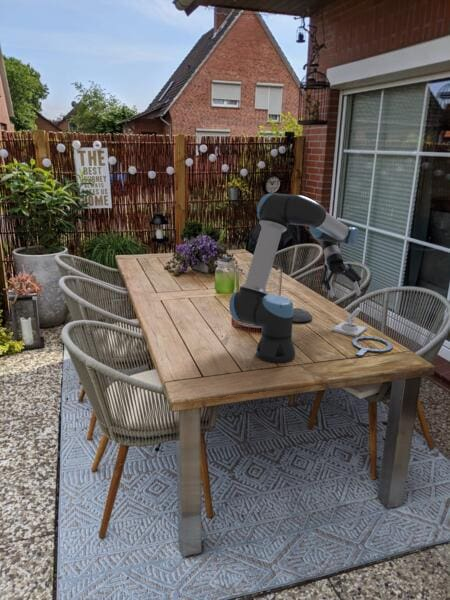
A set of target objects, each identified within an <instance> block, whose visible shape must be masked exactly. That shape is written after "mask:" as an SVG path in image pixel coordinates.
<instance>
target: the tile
mask: <svg viewBox="0 0 450 600" xmlns="http://www.w3.org/2000/svg"><path fill="white" fill-rule="evenodd" d="M343 323H346V322H344V321H341V322H340V323H338V324H337V325H336V326H334V327H332V328H331V331H332V332H334V333H339V334H343V335H348V336H352V337H354V338H356V337H360V336H361V335H362V334H363V333H364V332H366V331H367V330H368V328H367V327H366V326H361V325H358V324H356V325H357V326H358V330H357V331H347V330H344V329H342V328H341V326H342V325H343ZM347 327H354V326H347Z"/></svg>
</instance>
